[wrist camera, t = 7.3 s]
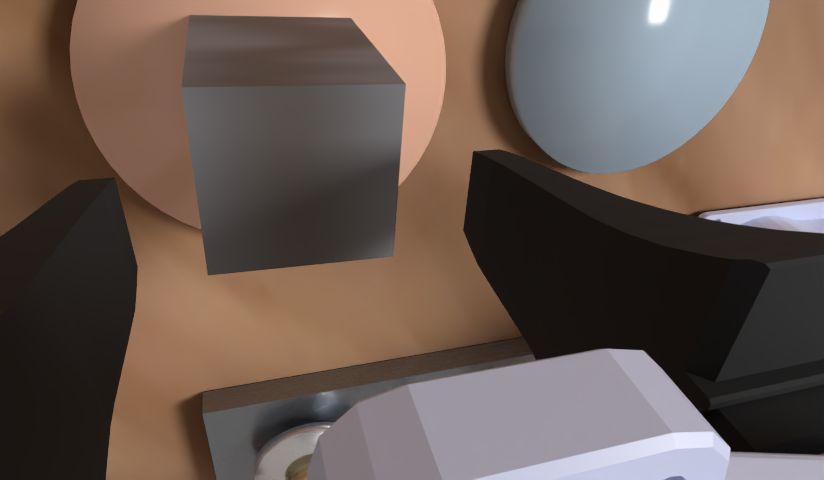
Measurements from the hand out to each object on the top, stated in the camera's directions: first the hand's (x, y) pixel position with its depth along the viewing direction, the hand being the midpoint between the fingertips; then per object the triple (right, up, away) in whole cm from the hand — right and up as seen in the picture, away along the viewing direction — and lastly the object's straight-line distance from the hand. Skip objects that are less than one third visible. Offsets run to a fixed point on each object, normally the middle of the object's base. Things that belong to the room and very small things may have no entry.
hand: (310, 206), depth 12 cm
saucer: (+10, +7, +9) cm, 15 cm away
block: (-2, +4, +6) cm, 7 cm away
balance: (+2, -9, +17) cm, 20 cm away
